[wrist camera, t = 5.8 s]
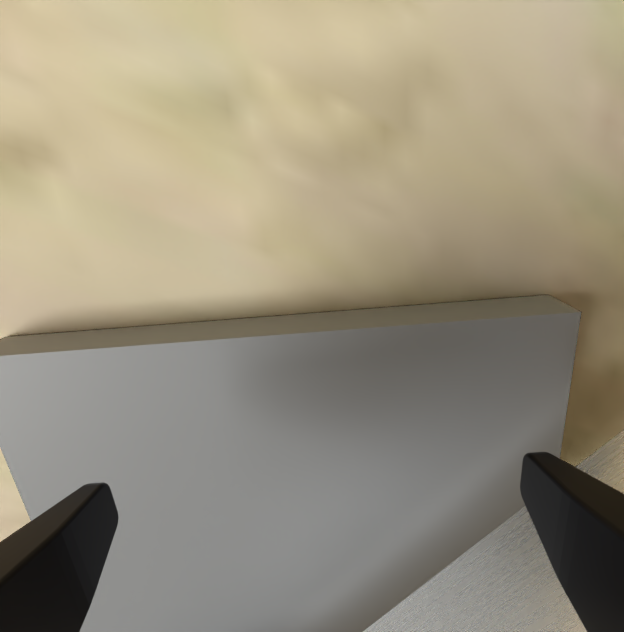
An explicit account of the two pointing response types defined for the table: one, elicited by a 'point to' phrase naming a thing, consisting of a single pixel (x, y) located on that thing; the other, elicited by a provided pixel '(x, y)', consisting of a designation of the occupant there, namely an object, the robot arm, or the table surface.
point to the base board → (288, 453)
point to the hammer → (502, 577)
